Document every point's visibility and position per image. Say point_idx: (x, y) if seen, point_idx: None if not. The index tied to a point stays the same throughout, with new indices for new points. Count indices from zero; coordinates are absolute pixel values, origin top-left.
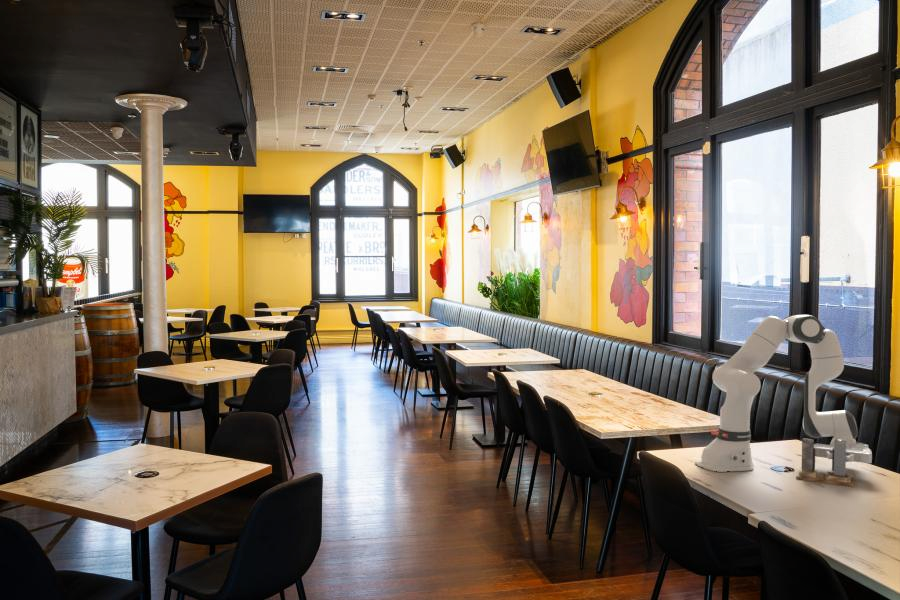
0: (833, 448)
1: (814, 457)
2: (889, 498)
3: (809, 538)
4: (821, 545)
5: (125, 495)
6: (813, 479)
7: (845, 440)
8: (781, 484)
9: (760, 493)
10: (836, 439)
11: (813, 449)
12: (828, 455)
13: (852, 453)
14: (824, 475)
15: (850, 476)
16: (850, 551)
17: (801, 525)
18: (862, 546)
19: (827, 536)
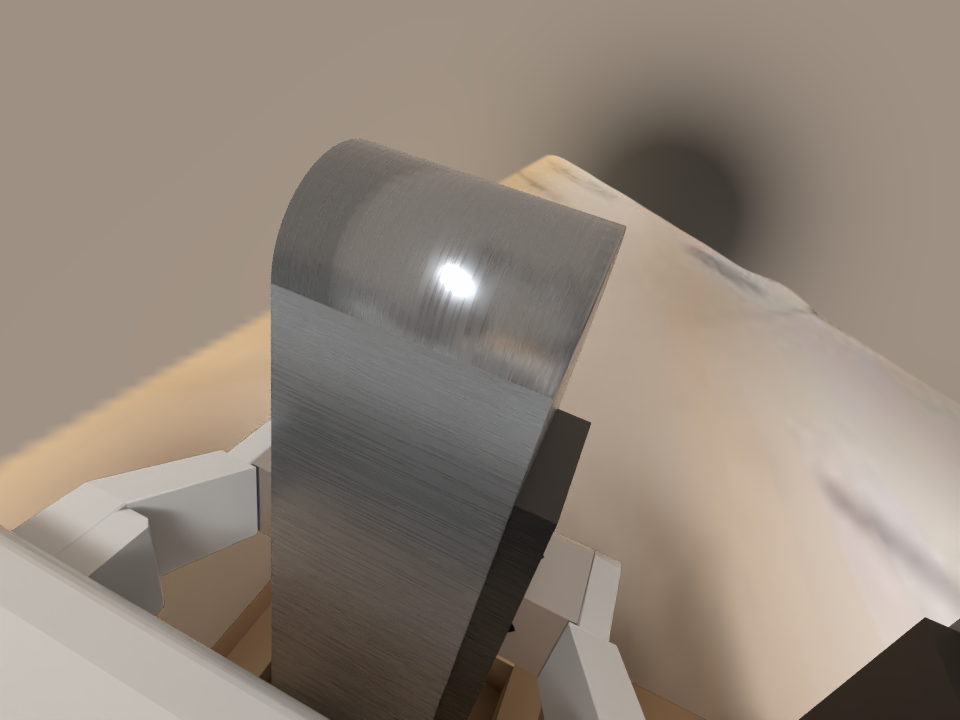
0: (557, 476)
1: (819, 706)
2: (214, 357)
3: (655, 222)
4: (633, 207)
5: None
6: (663, 703)
7: (360, 144)
8: (879, 604)
9: (891, 444)
10: (576, 220)
11: (958, 640)
12: (607, 563)
13: (33, 546)
14: None
15: (251, 635)
16: (585, 191)
17: (676, 252)
18: (558, 193)
19: (619, 220)
